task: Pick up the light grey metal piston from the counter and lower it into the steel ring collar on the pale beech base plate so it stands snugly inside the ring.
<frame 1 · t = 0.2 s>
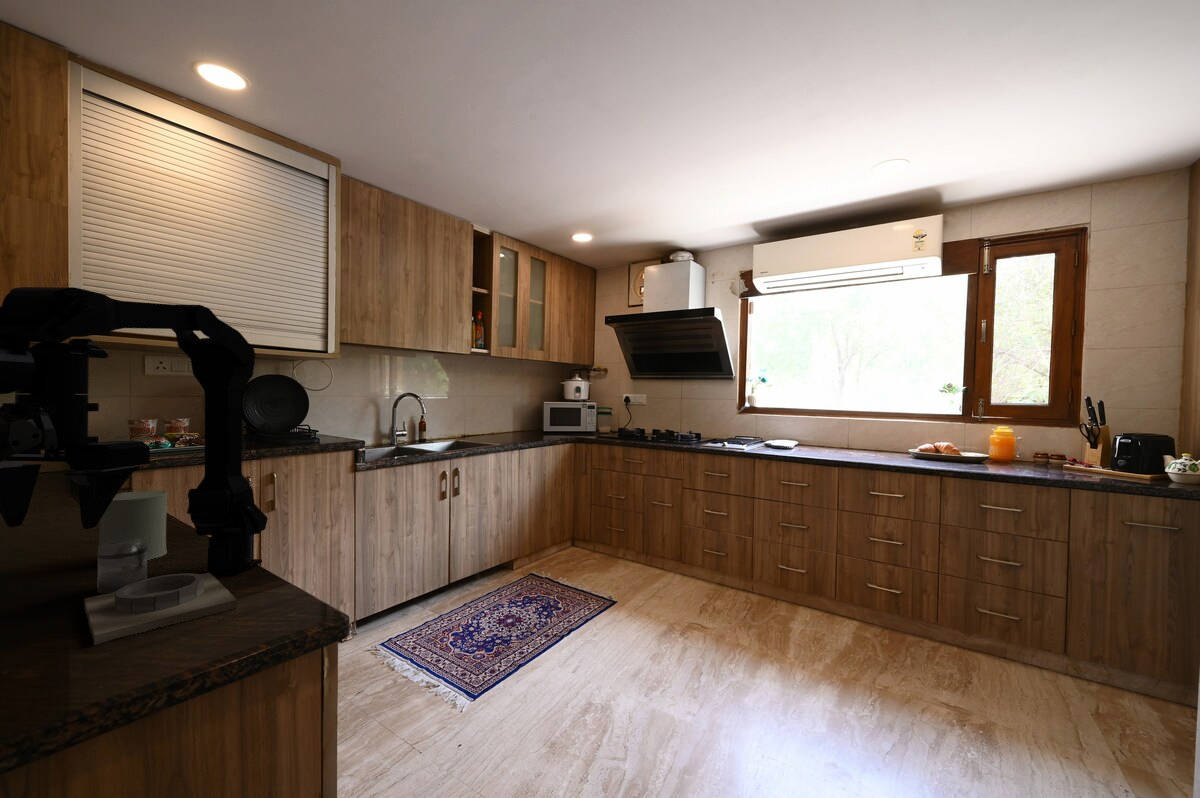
hand: (52, 527, 57), 14 cm above the counter, tool pointing down, fingers open, 9 cm apart
piston: (122, 587, 76), on the counter
ring plate: (160, 607, 68), on the counter
can: (133, 558, 89), on the counter
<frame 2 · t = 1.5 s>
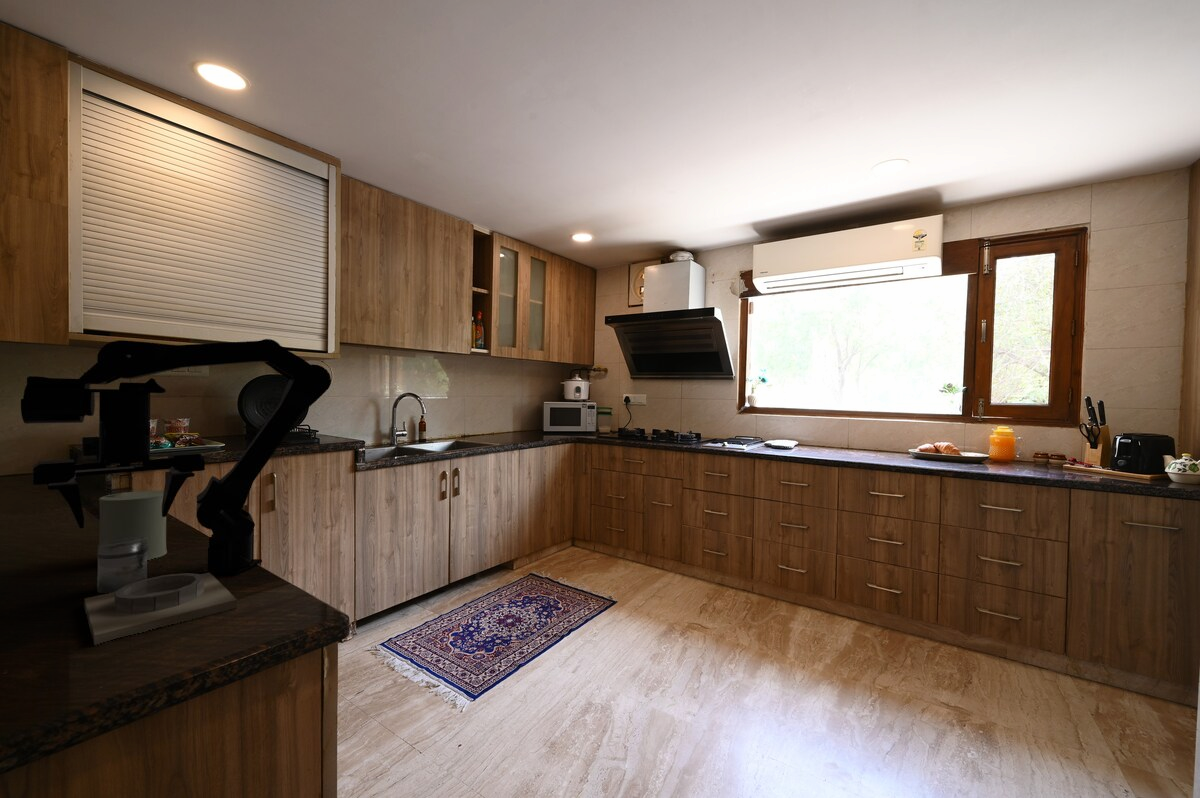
hand: (124, 521, 76), 10 cm above the counter, tool pointing down, fingers open, 9 cm apart
nothing on the counter moved.
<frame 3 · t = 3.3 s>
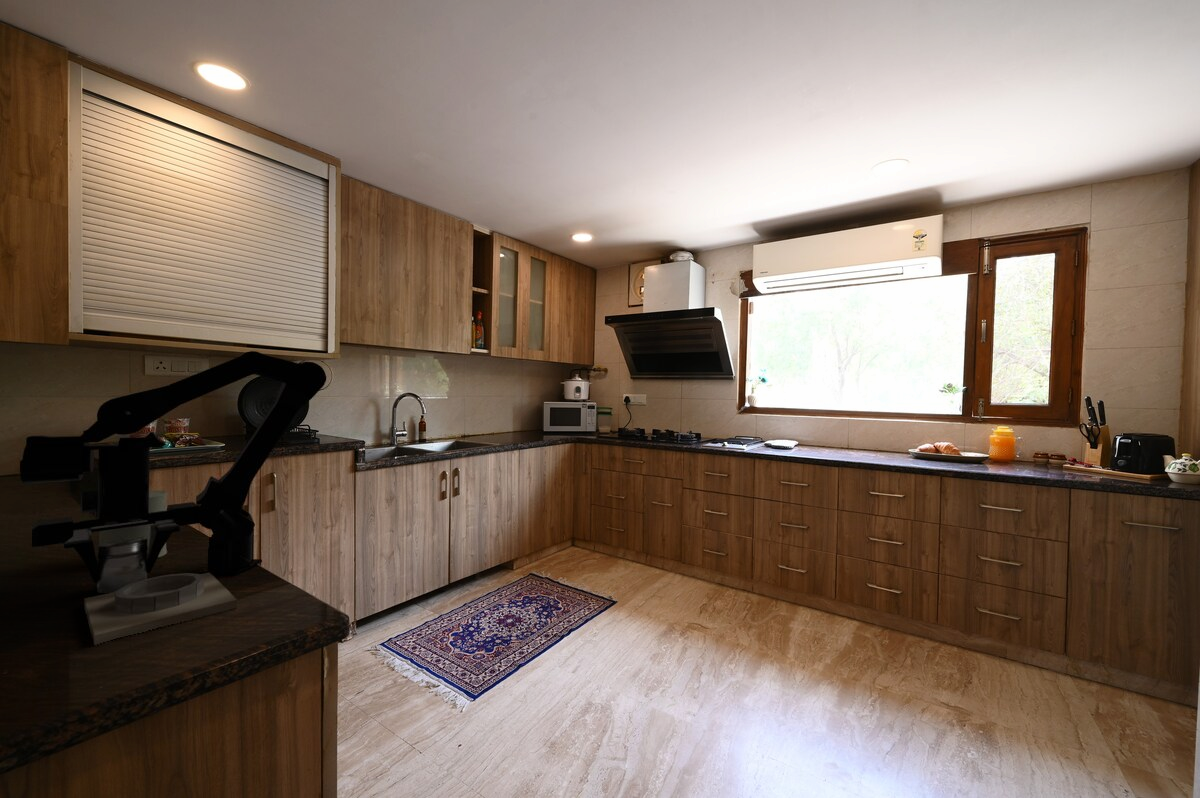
hand: (122, 577, 76), 2 cm above the counter, tool pointing down, fingers closed on piston, 5 cm apart
piston: (122, 587, 76), on the counter, touching gripper
everything else where it was.
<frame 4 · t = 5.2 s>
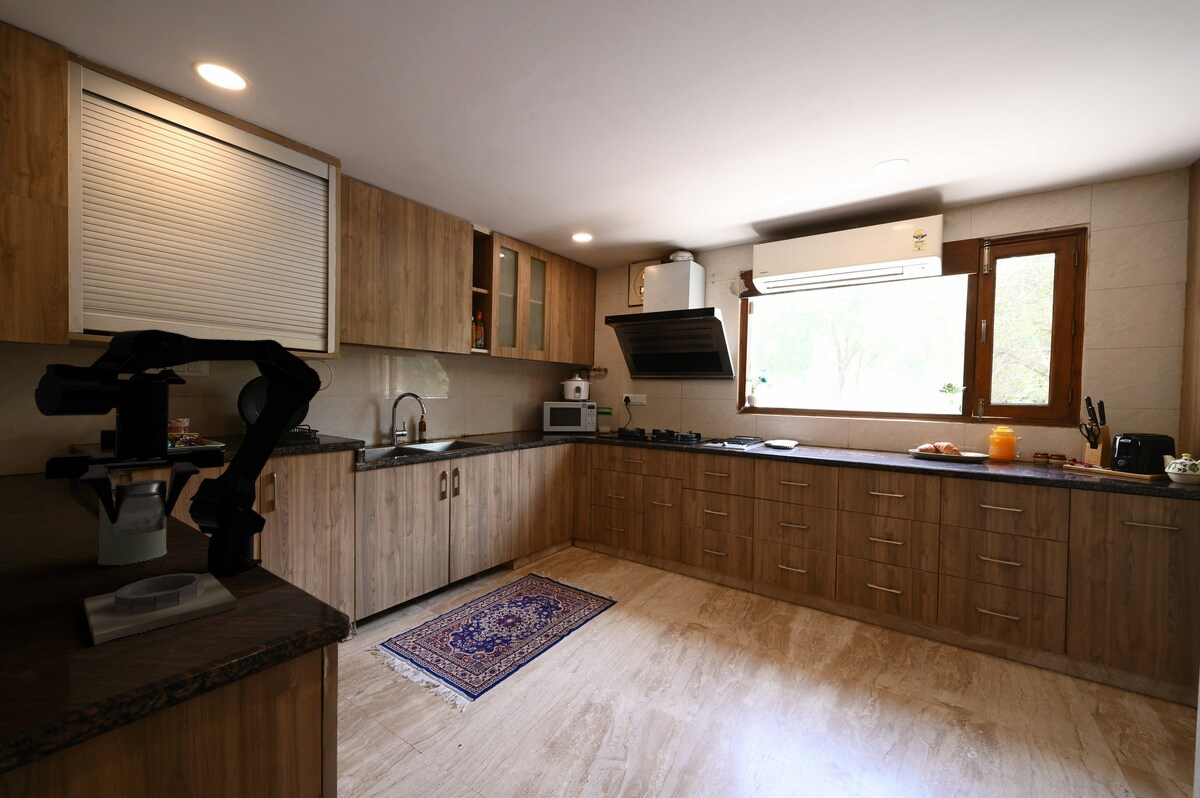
hand: (141, 519, 72), 12 cm above the counter, tool pointing down, fingers closed on piston, 5 cm apart
piston: (140, 530, 72), point 10 cm above the counter, touching gripper
everything else where it was.
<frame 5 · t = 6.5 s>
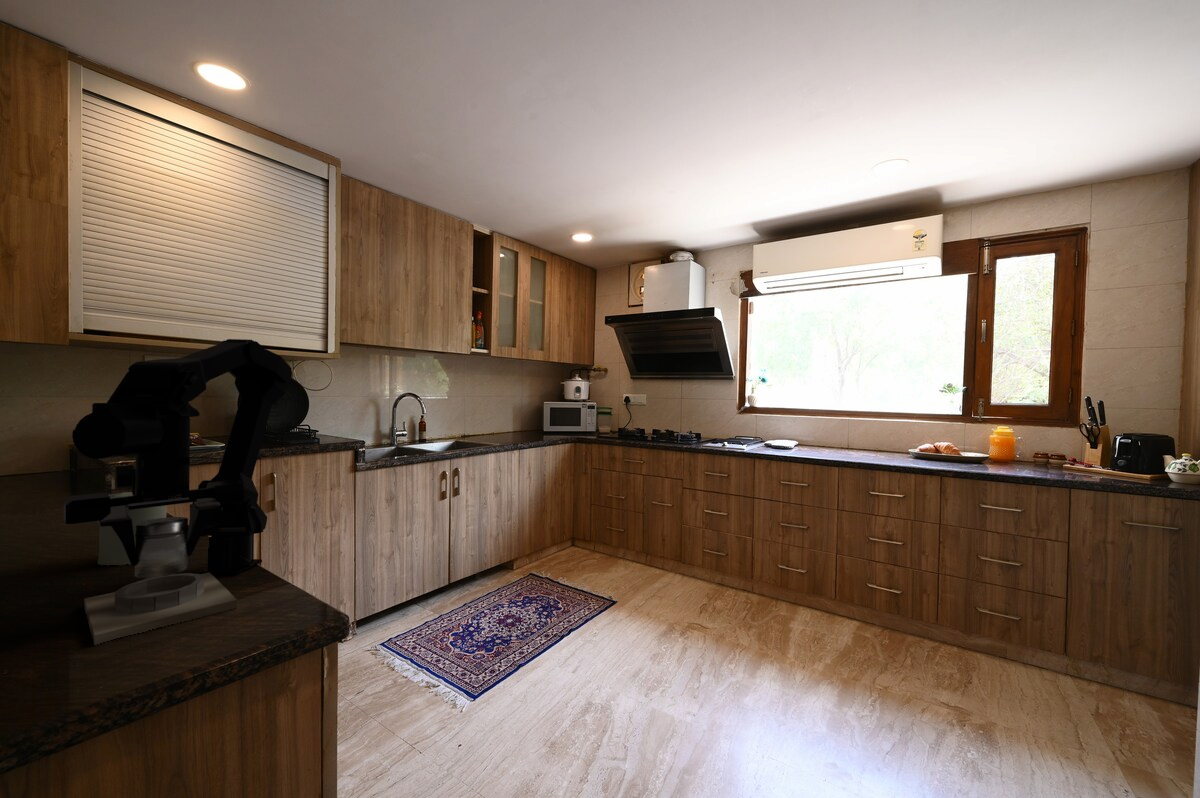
hand: (162, 560, 69), 7 cm above the counter, tool pointing down, fingers closed on piston, 5 cm apart
piston: (161, 571, 69), point 5 cm above the counter, touching gripper
everything else where it was.
when the fingers open (5 cm above the counter, at t = 7.6 s): piston drops 3 cm, resting on ring plate.
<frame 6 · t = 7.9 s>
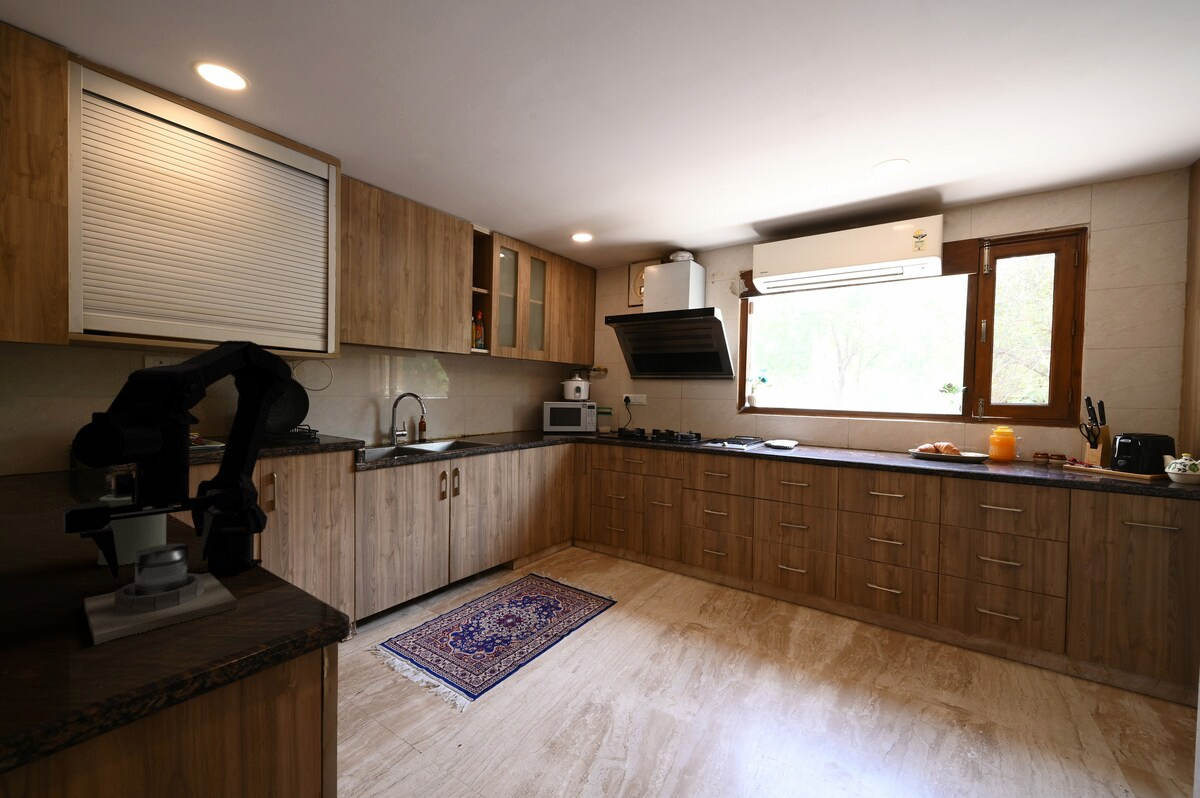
hand: (161, 568, 68), 5 cm above the counter, tool pointing down, fingers open, 9 cm apart
piston: (161, 598, 69), point 1 cm above the counter, touching ring plate
everything else where it was.
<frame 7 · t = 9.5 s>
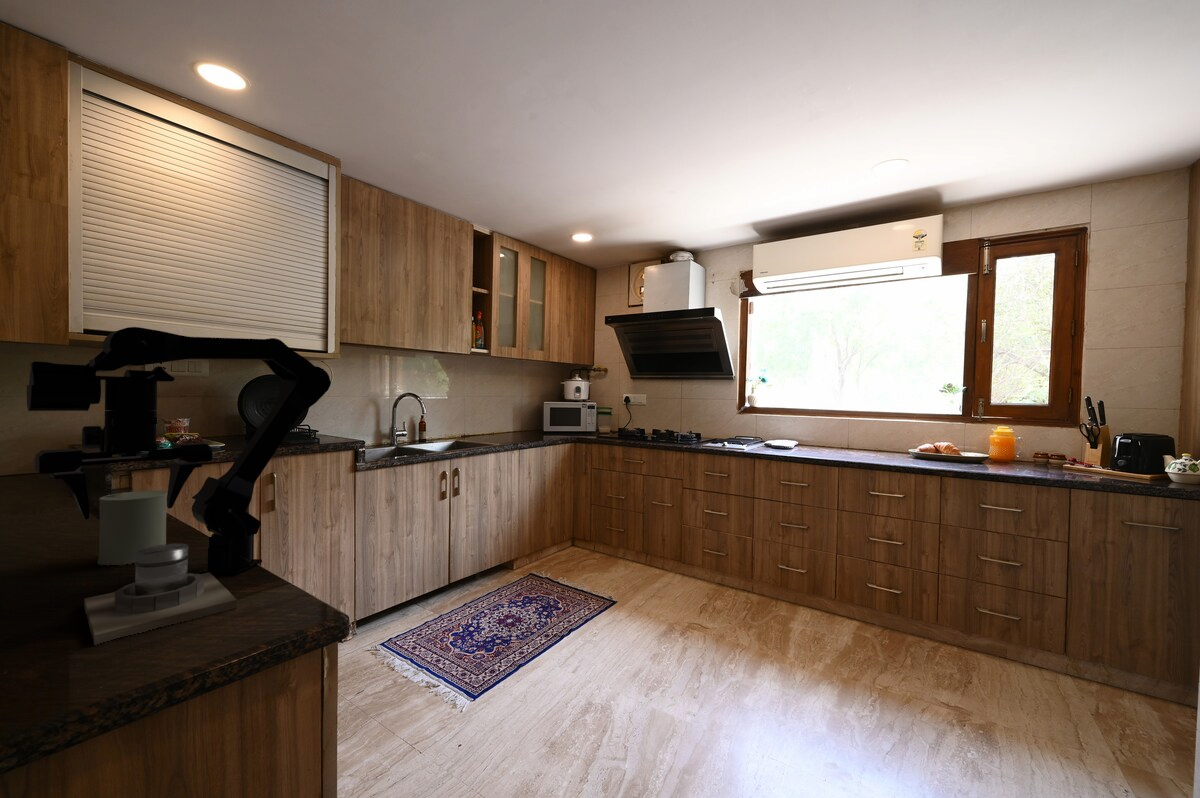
hand: (130, 513, 74), 12 cm above the counter, tool pointing down, fingers open, 9 cm apart
nothing on the counter moved.
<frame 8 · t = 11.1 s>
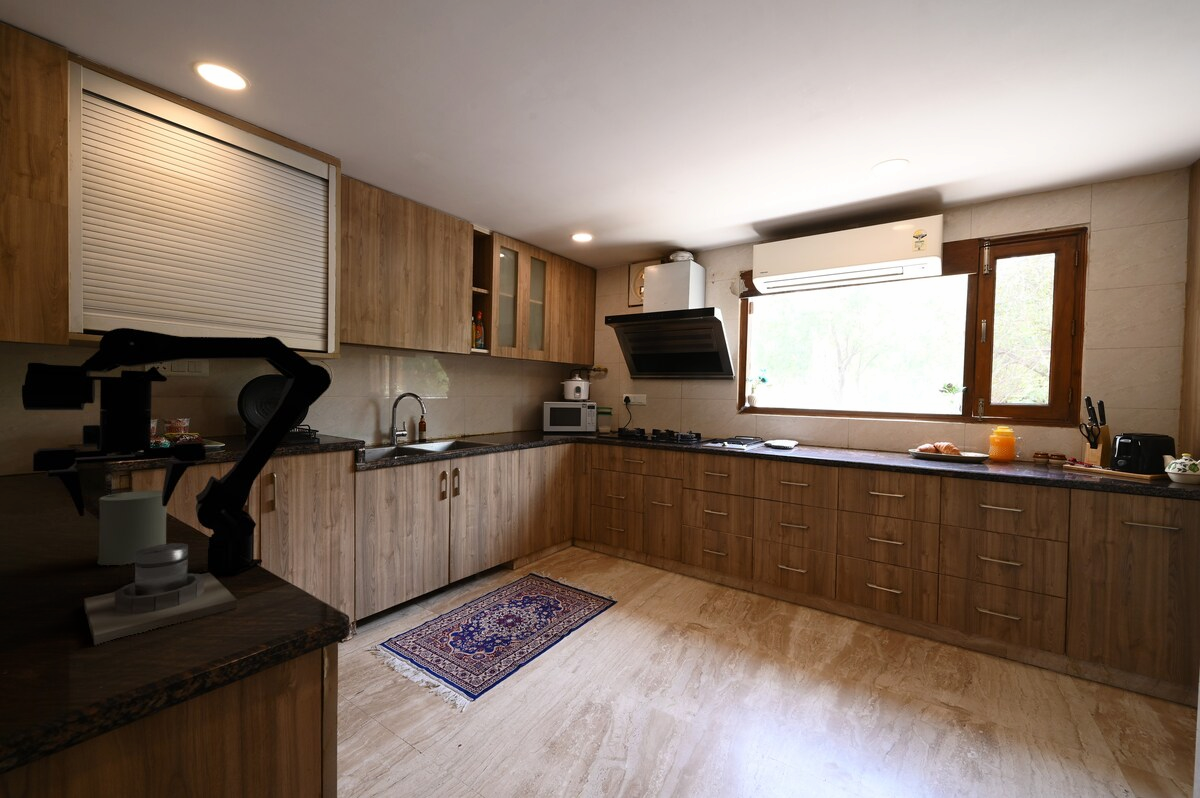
hand: (124, 510, 75), 12 cm above the counter, tool pointing down, fingers open, 9 cm apart
nothing on the counter moved.
at the end: piston 0.1 cm from the ring plate (horizontally); piston point 1.3 cm above the counter; piston tilted 1° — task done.
